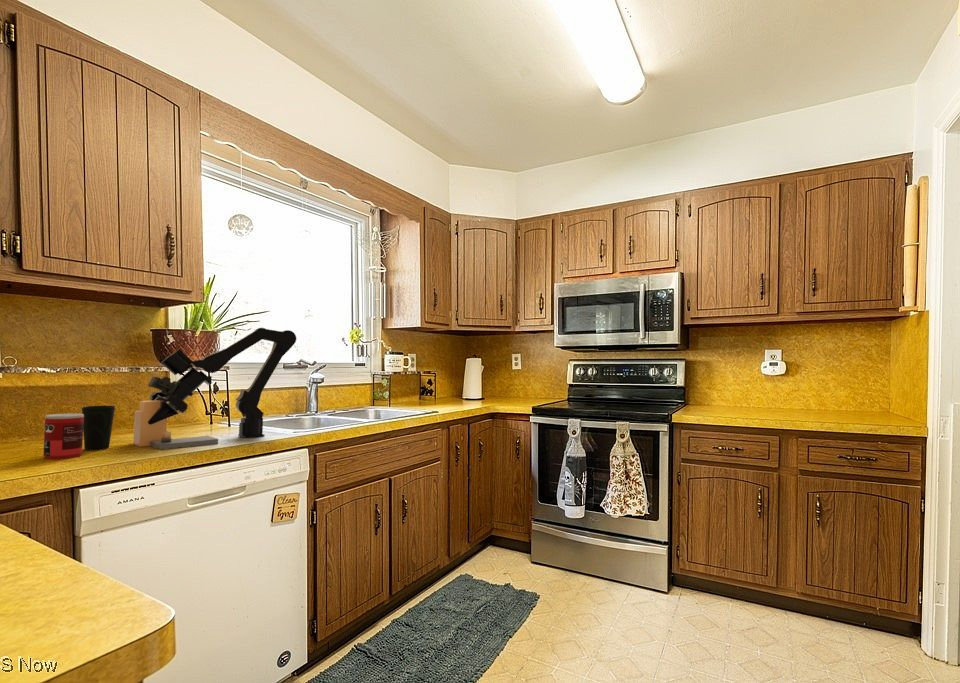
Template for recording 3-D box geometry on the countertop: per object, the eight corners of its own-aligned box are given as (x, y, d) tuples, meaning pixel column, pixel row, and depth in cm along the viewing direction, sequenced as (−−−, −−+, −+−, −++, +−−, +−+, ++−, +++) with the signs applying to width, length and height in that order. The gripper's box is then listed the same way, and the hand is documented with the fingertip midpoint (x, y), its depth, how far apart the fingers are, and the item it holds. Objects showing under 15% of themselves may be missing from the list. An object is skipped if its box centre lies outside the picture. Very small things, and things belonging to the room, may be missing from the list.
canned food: (49, 455, 135) (51, 413, 135) (86, 453, 138) (88, 413, 138) (37, 460, 128) (40, 416, 128) (76, 458, 131) (78, 416, 131)
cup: (75, 451, 140) (77, 408, 140) (85, 447, 147) (87, 405, 147) (108, 450, 143) (110, 407, 143) (116, 445, 150) (118, 405, 150)
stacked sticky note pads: (158, 441, 159) (160, 400, 159) (165, 444, 154) (167, 401, 155) (133, 443, 154) (135, 401, 154) (139, 446, 149) (141, 402, 150)
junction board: (207, 440, 162) (207, 426, 163) (218, 443, 156) (218, 429, 157) (149, 445, 151) (150, 430, 151) (159, 449, 145) (160, 434, 145)
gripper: (158, 366, 164) (115, 402, 155) (177, 368, 152) (132, 407, 143) (183, 390, 170) (144, 426, 161) (204, 393, 157) (162, 432, 148)
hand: (145, 422), depth 153 cm, fingers closed on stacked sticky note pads, 7 cm apart
